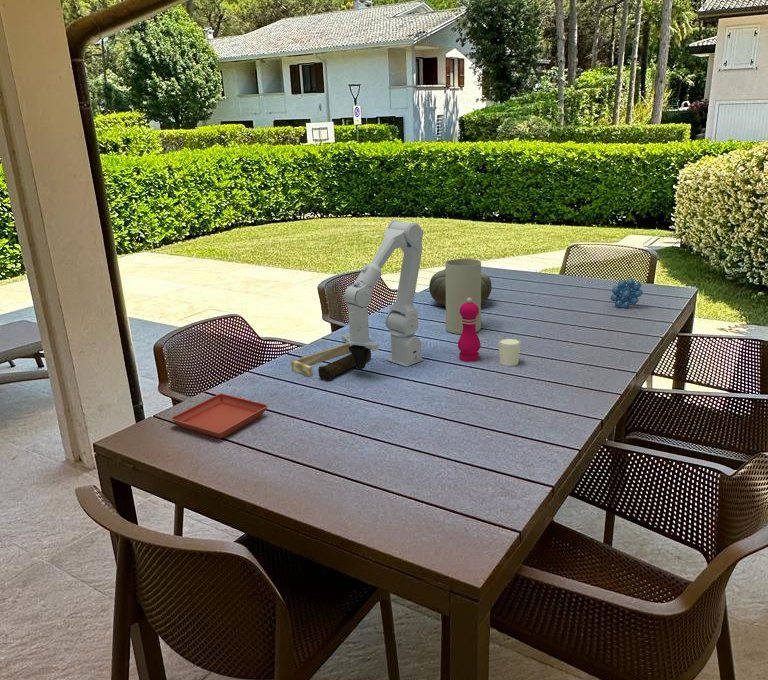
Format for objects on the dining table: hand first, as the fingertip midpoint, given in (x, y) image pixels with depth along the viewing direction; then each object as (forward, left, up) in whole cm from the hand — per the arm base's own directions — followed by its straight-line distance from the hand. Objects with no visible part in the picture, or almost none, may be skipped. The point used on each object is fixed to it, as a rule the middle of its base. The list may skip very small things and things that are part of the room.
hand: (361, 368), depth 198 cm
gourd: (+28, -80, -2) cm, 85 cm away
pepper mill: (-16, -32, -2) cm, 36 cm away
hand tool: (+7, 0, -2) cm, 7 cm away
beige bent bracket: (+14, 0, -2) cm, 14 cm away
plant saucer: (+2, +47, -2) cm, 47 cm away
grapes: (-25, -117, -2) cm, 120 cm away
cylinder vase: (+5, -54, -2) cm, 54 cm away
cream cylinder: (-28, -37, -2) cm, 46 cm away
